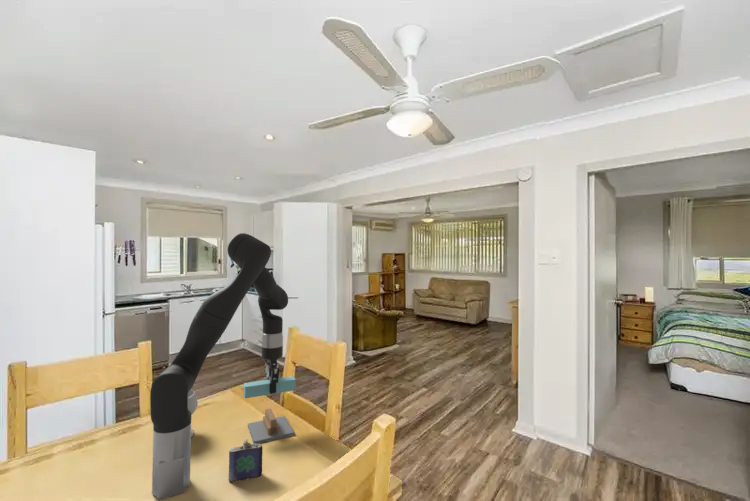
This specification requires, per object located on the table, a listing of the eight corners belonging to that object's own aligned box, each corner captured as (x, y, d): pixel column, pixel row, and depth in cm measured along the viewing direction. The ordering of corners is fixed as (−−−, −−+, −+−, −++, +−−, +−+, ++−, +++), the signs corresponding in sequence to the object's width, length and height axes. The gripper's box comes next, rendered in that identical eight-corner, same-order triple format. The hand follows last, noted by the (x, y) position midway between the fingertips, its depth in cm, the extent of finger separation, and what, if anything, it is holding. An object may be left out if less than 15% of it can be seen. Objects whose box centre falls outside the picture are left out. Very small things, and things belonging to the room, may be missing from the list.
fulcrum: (294, 435, 127) (294, 418, 127) (253, 444, 120) (254, 426, 120) (284, 418, 139) (285, 403, 139) (247, 426, 132) (247, 410, 132)
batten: (295, 390, 131) (295, 379, 131) (244, 398, 123) (245, 387, 123) (292, 386, 135) (293, 376, 135) (243, 394, 127) (243, 383, 127)
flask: (228, 483, 100) (229, 446, 100) (228, 477, 103) (229, 440, 103) (262, 477, 103) (263, 441, 103) (262, 471, 106) (262, 436, 106)
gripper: (287, 348, 125) (286, 396, 125) (278, 339, 137) (277, 382, 137) (265, 350, 121) (264, 400, 121) (258, 341, 134) (257, 385, 134)
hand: (271, 390), depth 129 cm, fingers closed on batten, 4 cm apart
